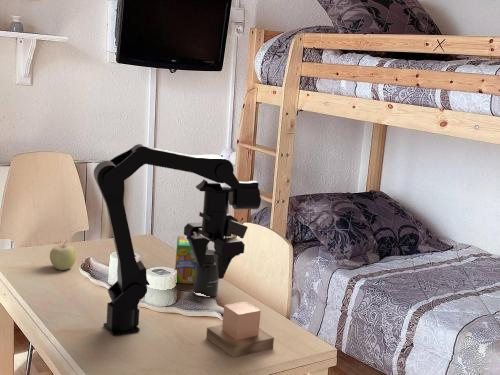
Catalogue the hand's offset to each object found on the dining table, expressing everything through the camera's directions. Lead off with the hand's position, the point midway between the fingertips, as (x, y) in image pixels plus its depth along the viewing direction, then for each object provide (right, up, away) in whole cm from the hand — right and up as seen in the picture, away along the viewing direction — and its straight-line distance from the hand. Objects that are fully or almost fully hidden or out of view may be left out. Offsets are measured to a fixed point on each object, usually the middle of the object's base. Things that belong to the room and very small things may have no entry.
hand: (210, 272), depth 154 cm
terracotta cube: (+7, -13, -7) cm, 16 cm away
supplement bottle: (-3, -9, +22) cm, 24 cm away
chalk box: (-8, -7, +33) cm, 34 cm away
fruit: (-45, -3, +33) cm, 56 cm away
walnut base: (+7, -15, -7) cm, 18 cm away
